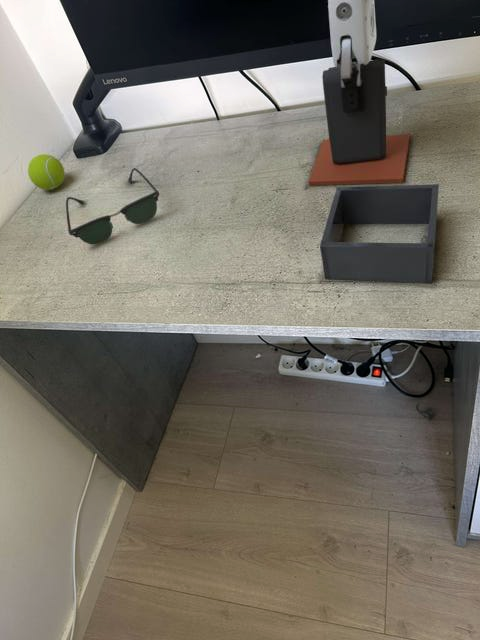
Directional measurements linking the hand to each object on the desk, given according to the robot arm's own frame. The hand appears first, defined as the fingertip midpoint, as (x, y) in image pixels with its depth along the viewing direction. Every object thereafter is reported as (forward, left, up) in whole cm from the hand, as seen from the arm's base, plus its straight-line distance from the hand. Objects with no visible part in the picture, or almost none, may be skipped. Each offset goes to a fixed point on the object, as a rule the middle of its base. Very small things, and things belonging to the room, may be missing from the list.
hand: (356, 101), depth 75 cm
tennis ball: (+63, +4, -11) cm, 64 cm away
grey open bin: (-6, +22, -11) cm, 25 cm away
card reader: (0, 0, -10) cm, 10 cm away
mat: (0, 0, -11) cm, 11 cm away
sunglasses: (+43, +13, -11) cm, 46 cm away
